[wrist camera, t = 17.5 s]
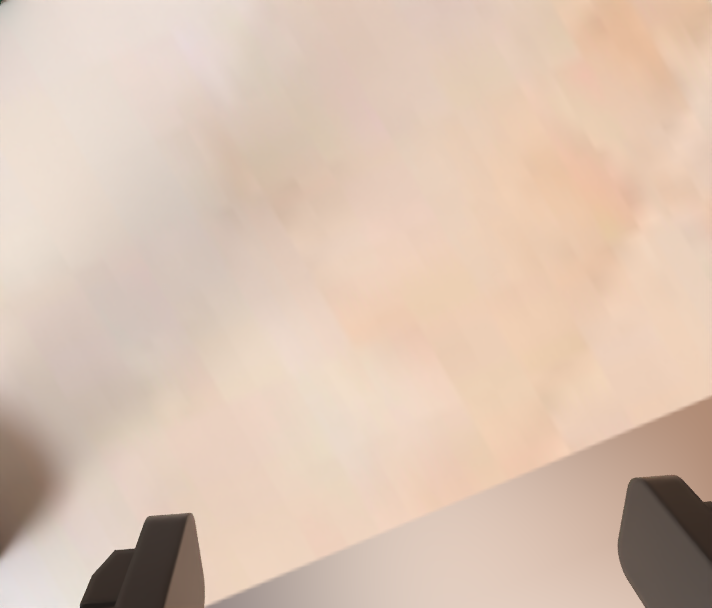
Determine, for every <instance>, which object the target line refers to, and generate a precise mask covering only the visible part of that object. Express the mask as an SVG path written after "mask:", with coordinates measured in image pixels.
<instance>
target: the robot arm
mask: <svg viewBox="0 0 712 608" xmlns="http://www.w3.org/2000/svg"><path fill="white" fill-rule="evenodd" d="M618 554H619V559H620V563H621V566H622V569H623V572H624V574H625V576H626V578H627V579H628V581H629V583H630V584H631V586H632V587H633V589H634V590H635V592H636V594H637V595H638V597H639V598H640V600H641V601H642V603H643V605H644V606H645V608H712V502H711V501H710V502H703V501H702V500H701V499H700V498H699V497H698V496H697V495H696V494H695V493H694V492H693V490H692V489H691V488H690V487H689V486H688V485H687V484H686V483H685V482H684V481H683V480H682V479H681V478H679V477H678V476H675V475H665V476H653V477H639V478H633V479H632V480H631V481H630V482H629V485H628V488H627V493H626V499H625V505H624V510H623V516H622V521H621V527H620V532H619V538H618ZM204 600H205V586H204V575H203V569H202V562H201V556H200V550H199V544H198V537H197V531H196V525H195V520H194V516H193V514H192V513H184V514H171V515H158V516H149V517H147V519H146V520H145V522H144V525H143V528H142V531H141V533H140V536H139V539H138V542H137V545H136V548H135V549H125V550H115V551H114V552H113V553H112V554H111V555H110V556H109V557H108V559H107V560H106V561H105V562H104V563H103V564H102V565H101V566H100V567H99V569H98V570H97V571H96V572H95V573H94V574H93V575H92V577H91V579H90V582H89V584H88V587H87V589H86V591H85V594H84V596H83V598H82V601H81V603H80V608H204Z"/></svg>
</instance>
